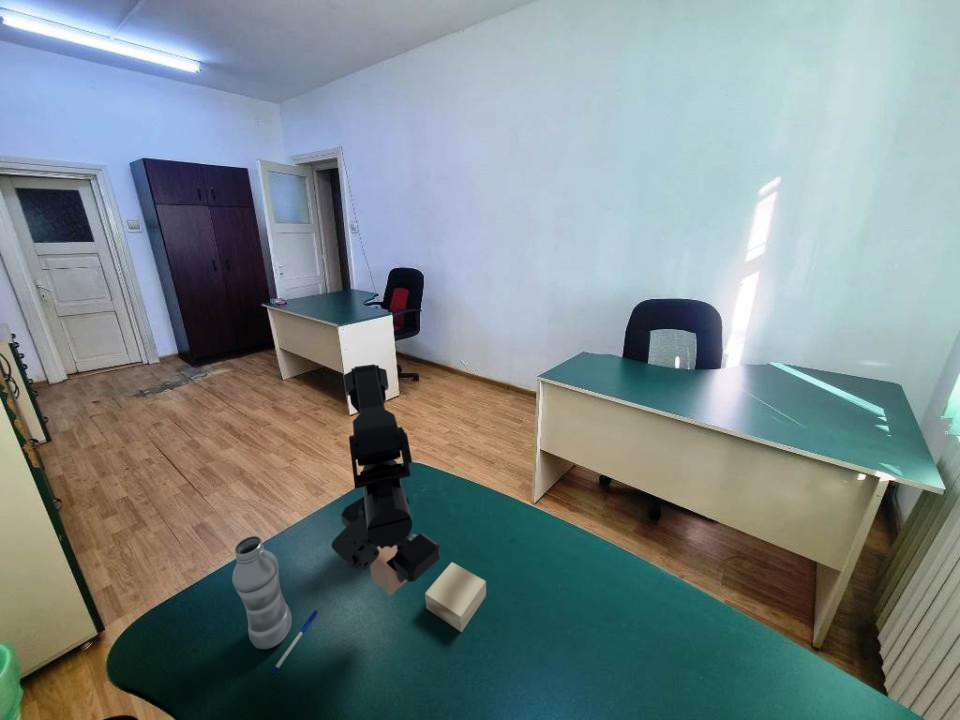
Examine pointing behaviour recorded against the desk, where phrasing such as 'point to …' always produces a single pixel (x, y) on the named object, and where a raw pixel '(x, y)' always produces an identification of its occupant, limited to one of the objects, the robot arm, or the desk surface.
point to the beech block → (456, 596)
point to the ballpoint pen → (295, 640)
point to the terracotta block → (385, 570)
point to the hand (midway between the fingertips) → (392, 571)
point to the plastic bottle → (261, 593)
